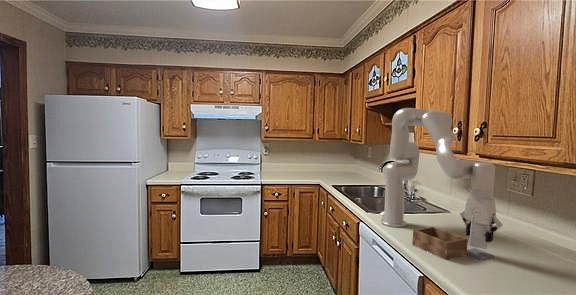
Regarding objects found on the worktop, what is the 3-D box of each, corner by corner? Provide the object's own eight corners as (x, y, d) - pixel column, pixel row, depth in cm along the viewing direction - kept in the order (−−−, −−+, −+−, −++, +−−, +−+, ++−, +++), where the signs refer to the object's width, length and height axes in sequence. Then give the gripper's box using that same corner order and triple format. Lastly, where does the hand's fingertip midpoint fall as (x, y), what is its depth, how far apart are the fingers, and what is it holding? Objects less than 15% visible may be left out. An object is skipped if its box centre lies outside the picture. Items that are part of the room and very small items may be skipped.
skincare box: (469, 246, 123) (471, 216, 122) (469, 242, 127) (471, 213, 126) (487, 249, 120) (489, 218, 119) (487, 246, 124) (489, 216, 123)
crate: (412, 245, 132) (413, 230, 132) (432, 241, 137) (432, 226, 137) (446, 259, 118) (447, 243, 117) (466, 254, 123) (467, 238, 123)
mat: (461, 252, 125) (461, 250, 125) (474, 249, 129) (474, 247, 129) (481, 260, 118) (481, 258, 118) (494, 256, 122) (494, 255, 122)
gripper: (454, 190, 128) (452, 232, 129) (499, 199, 113) (495, 247, 114) (466, 189, 131) (464, 230, 133) (511, 198, 116) (507, 244, 117)
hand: (478, 238), depth 123 cm, fingers closed on skincare box, 7 cm apart
